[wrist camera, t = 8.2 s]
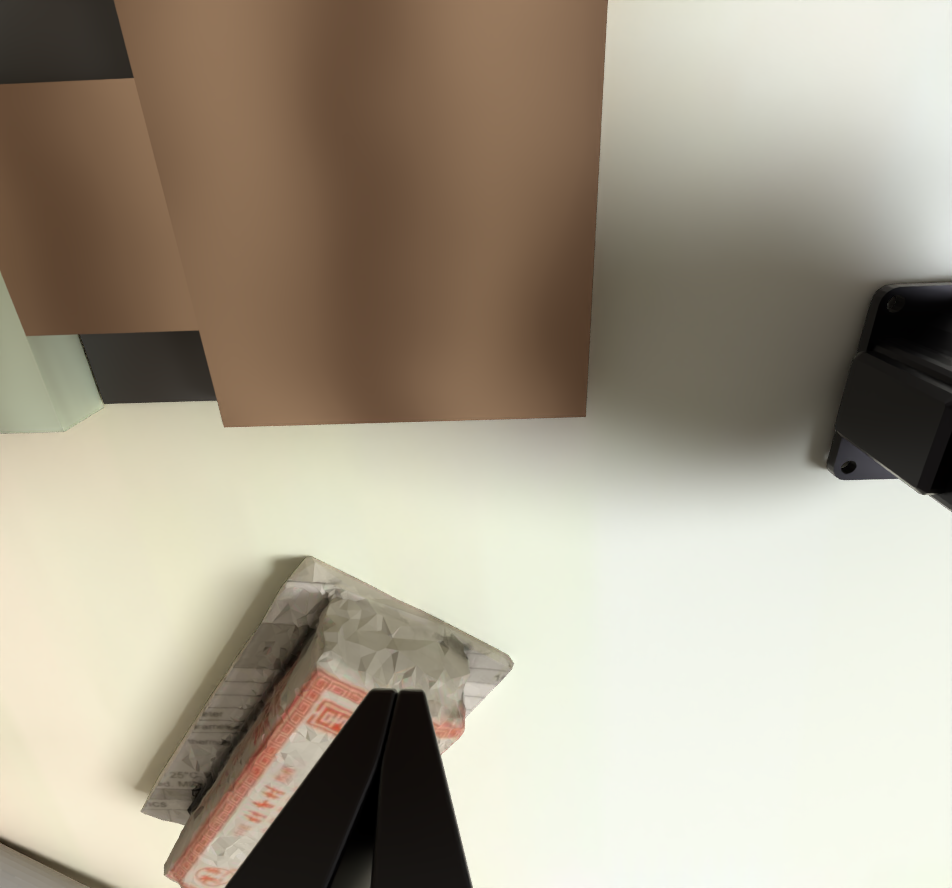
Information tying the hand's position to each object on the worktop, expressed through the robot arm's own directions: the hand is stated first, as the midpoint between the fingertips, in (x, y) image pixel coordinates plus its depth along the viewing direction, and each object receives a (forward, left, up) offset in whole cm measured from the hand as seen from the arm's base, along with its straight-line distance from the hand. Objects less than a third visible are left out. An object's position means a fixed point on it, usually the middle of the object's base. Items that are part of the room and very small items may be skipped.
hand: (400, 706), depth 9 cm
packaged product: (+7, +16, -12) cm, 21 cm away
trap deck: (+7, -7, -11) cm, 15 cm away
